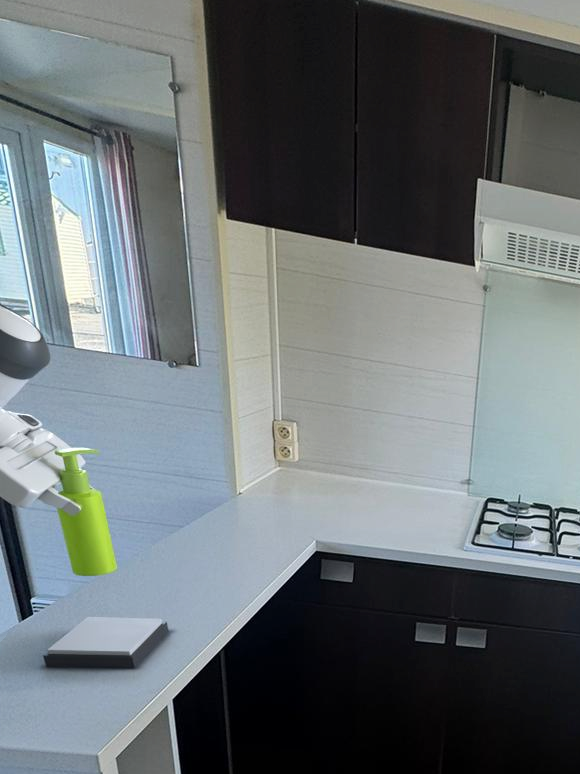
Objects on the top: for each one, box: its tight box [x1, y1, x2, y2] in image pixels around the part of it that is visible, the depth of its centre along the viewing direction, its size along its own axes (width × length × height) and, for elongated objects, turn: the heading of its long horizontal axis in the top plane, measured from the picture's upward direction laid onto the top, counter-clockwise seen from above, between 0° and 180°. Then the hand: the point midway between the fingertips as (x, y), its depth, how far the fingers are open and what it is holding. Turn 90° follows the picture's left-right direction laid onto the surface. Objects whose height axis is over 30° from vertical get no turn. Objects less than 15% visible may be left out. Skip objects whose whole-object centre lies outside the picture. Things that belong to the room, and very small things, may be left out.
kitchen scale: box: [42, 616, 170, 669], centre depth 109 cm, size 13×13×3 cm
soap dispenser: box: [54, 447, 118, 577], centre depth 101 cm, size 6×7×20 cm
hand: (87, 504), depth 101 cm, fingers closed on soap dispenser, 6 cm apart
